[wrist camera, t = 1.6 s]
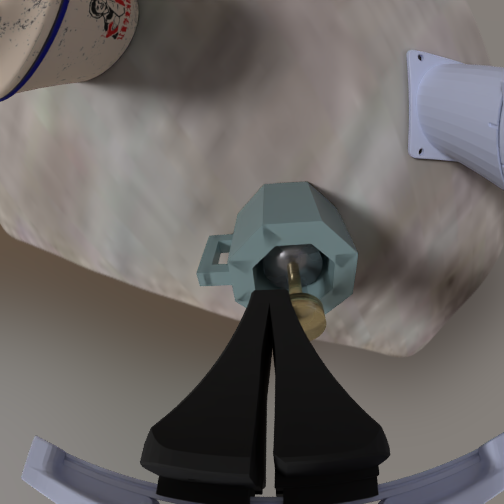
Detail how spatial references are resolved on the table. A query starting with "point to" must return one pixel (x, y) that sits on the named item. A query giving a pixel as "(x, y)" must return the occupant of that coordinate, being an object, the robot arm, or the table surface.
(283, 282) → the plunger
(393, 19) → the table surface
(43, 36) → the teacup with lid
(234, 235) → the tea press body
